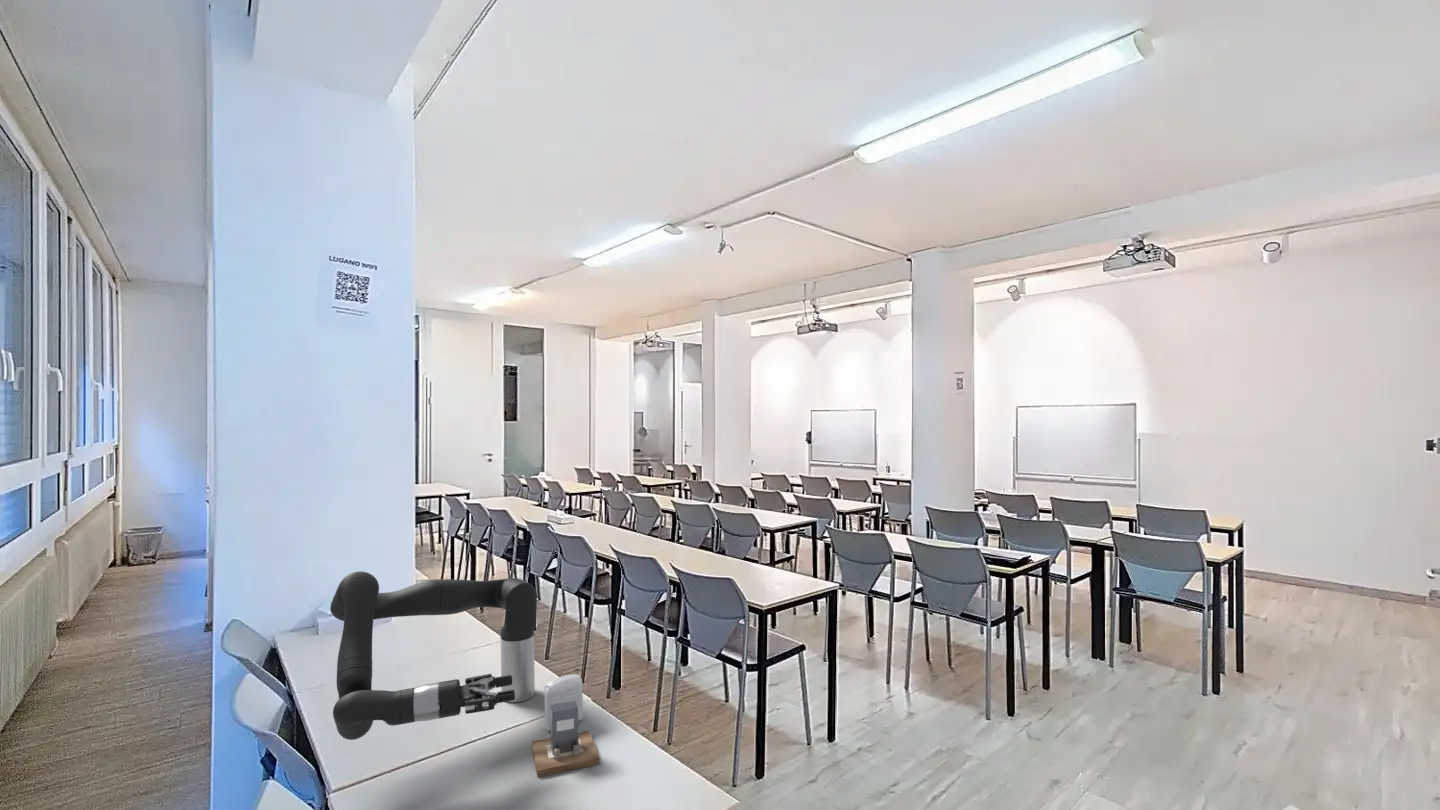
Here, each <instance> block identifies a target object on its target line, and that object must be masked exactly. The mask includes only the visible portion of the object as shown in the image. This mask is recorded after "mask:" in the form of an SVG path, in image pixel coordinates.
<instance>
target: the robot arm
mask: <svg viewBox="0 0 1440 810" xmlns="http://www.w3.org/2000/svg"><path fill="white" fill-rule="evenodd" d="M476 608H477V609H478V608H492V609H493V608H494V609H503V610H505V624H504V625H502V626H501V628H500V676H495V675H494V676H493V674H492V673H488V674H482V675H478V676H472V677H471V676H470V677H466V678H465V679H464V683H465V684H463V685H461V682H460V679H458V678H456V679H450V680H449V679H448V680H444V681H438V682H433V683H427V684H423V685H420V686H417V687H411V688H410V687H409V688H405V689H398V690H381V689H379V690H377V689H373V688H372V687H373V686H372V681H373V629H374V626H373V625H374V620H380V619H386V618H387V619H388V618H389V619H390V618H399V617H401V618H402V617H414V616H415V617H416V616H417V617H418V616H447V615H455V614H460V613H464V612H466V611H468V610H473V609H476ZM329 610H330V613H331V614H332V616H333V617H334V618H336V619H337V620H340V621H341V622H343V630H342V634H341V640H340V643H339V648H338V654H337V661H336V663H337V664H336V688H337V689H336V690H337V694H338V700H337V701H336V702H335V704H334V706H333V709H332V716H333V720H334V723H335V726H336V730H337V732H338V734H339V735H340V737H342V738H343V739H345V740H350V741H352V740H353V741H354V740H358V739H361V738H362V737H364V736H365V735H366V734H367V733H368V732H369V731H370V730H371V728H372V725H373V724H374V721H383V722H384V723H385V724H387V725H388V726H400V725H405V724H411V723H416V722H417V723H418V722H429V721H433V720H434V721H435V720H439V719H444V718H449V717H456V716H460V714H461V711H462V710H461V708H464V712H465V714H466V715H467V714H468V715H469V714H475V713H480V712H487V711H493V710H495V706H497V705H498V704H501V703H518V702H519V703H520V702H525V701H527V700H529V699H531V698H533V697H534V695H536V694H535V693H536V691H535V690H536V685H535V684H536V683H535V682H536V681H535V680H536V679H535V677H536V676H535V672H536V671H535V669H536V668H535V627H536V626H537V625H536V624H537V615H538V614H537V613H538V596H537V592H536V588H535V587H534V585H532V584H531V583H529V582H528V581H525V580H523V579H521V578H518V577H515V578H514V577H508V578H501V579H492V580H468V579H450V578H449V579H446V578H445V579H442V578H441V579H438V578H437V579H428V580H425V581H421V582H418V583H415V584H413V585H409V586H407V587H404V588H402V589H399V590H395V591H391V592H380V585H379V581H378V580H377V578H376V577H375V576H374V575H373V574H371V573H369V572H367V571H361V570H360V571H352V572H350V573H348V574H347V575H345V577H343V579H342V580H340V583H339V584H338V586H337V588H336V591H335V592H334V596H333V598H332V600H331V602H330V607H329ZM495 688H496V689H497V688H498V689H499V688H500V689H501V690H500V691H497V692H492V690H494V689H495ZM490 691H491V692H490Z"/></svg>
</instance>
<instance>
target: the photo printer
mask: <svg viewBox="0 0 1440 810" xmlns="http://www.w3.org/2000/svg"><path fill="white" fill-rule="evenodd" d="M570 701H576V704H577V706H578V722H580V721H581V720H583V717H584V716H583V712H584V711H583V705H584V704H583V703H584V701H583V680H582V677H581V676H580V675H578V674H575V673H574V674H572V673H571V674H565V675H562V676H559V677H557V678H555V679H553V680H552V681H550V682H548V683H547V684H546V685H545V687H544V727H545V730H546V731H548V732H550V705H553V704H559V703H565V702H570Z"/></svg>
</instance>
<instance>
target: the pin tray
mask: <svg viewBox="0 0 1440 810" xmlns="http://www.w3.org/2000/svg"><path fill="white" fill-rule="evenodd" d="M531 750H532V755H533V761H534V766H535V772H536V777H537V778H541V777H545V776H550V775H555V773H556V774H560V772H561V773H564V771H565V772H569V770H570V771H574V770H573V769H575V770H578V769H577V768H580V769H583V768H588V766H589V767H594V766H598V765H600V760H601V759H600V756H599V753H598V751H597V748H596V745H595V742H594V739H593V738H592V735H591V731H590V730H589V729H587V730H584V731H583V730H582V731H578V745H574V746H573V751H569V752H564V753H560V749H559V748H556V749H554V755H553V754H552V750H551V739H550V737H545V738H540V739H535V740H531ZM593 765H594V766H593Z"/></svg>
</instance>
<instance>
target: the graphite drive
mask: <svg viewBox="0 0 1440 810" xmlns="http://www.w3.org/2000/svg"><path fill="white" fill-rule="evenodd" d="M549 732H550V735H549V738H550V739H551V750H552V754H553V755H554V749H556V748H559V749H560V753H564V752H569V751H573V746H574V745H578V732H579V721H578V706H577V704H576V701H570V702H565V703H559V704H553V705H550V731H549Z"/></svg>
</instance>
